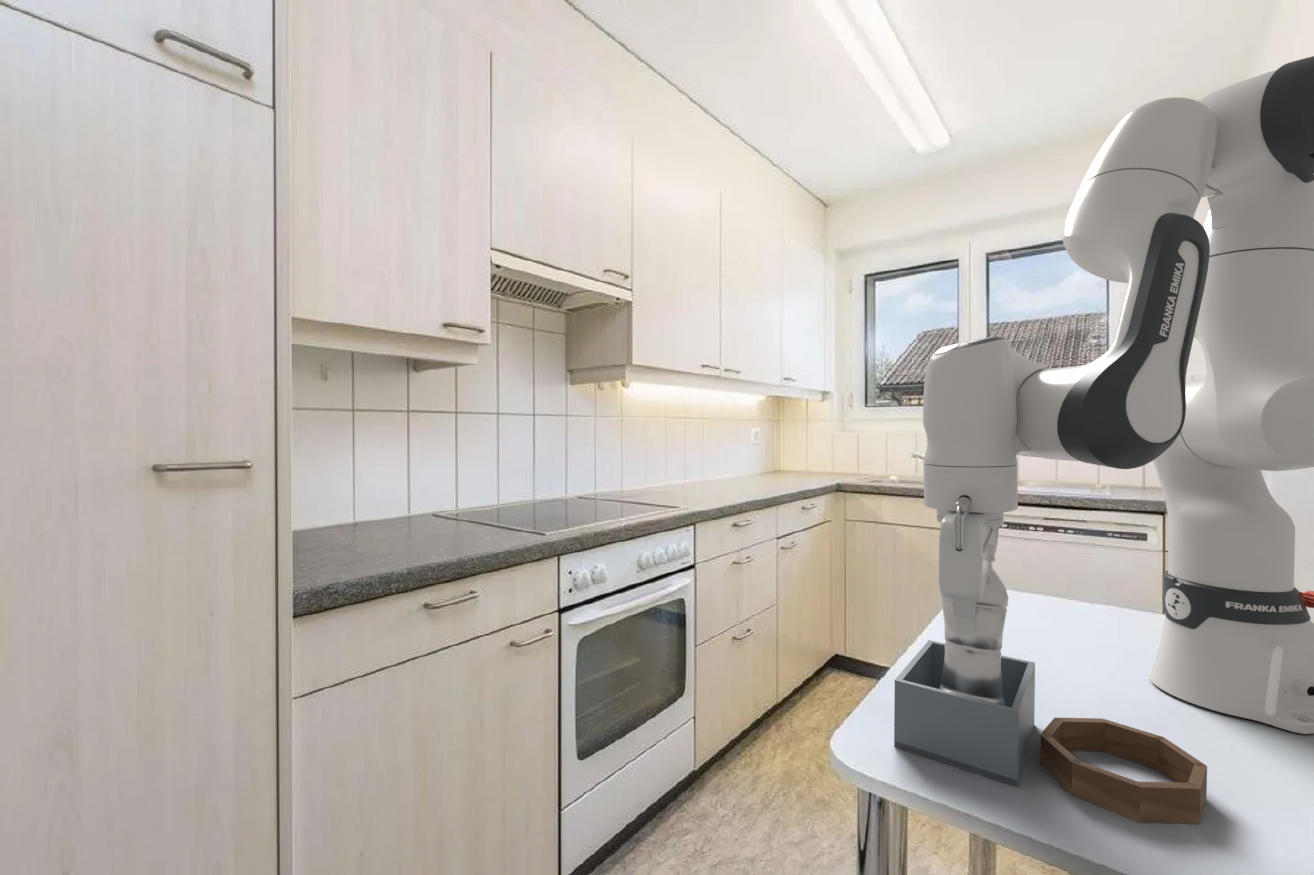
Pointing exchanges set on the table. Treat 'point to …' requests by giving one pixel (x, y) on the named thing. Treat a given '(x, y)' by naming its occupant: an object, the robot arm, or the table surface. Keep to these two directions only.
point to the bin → (965, 717)
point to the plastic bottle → (977, 645)
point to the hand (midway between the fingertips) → (970, 619)
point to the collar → (1114, 790)
